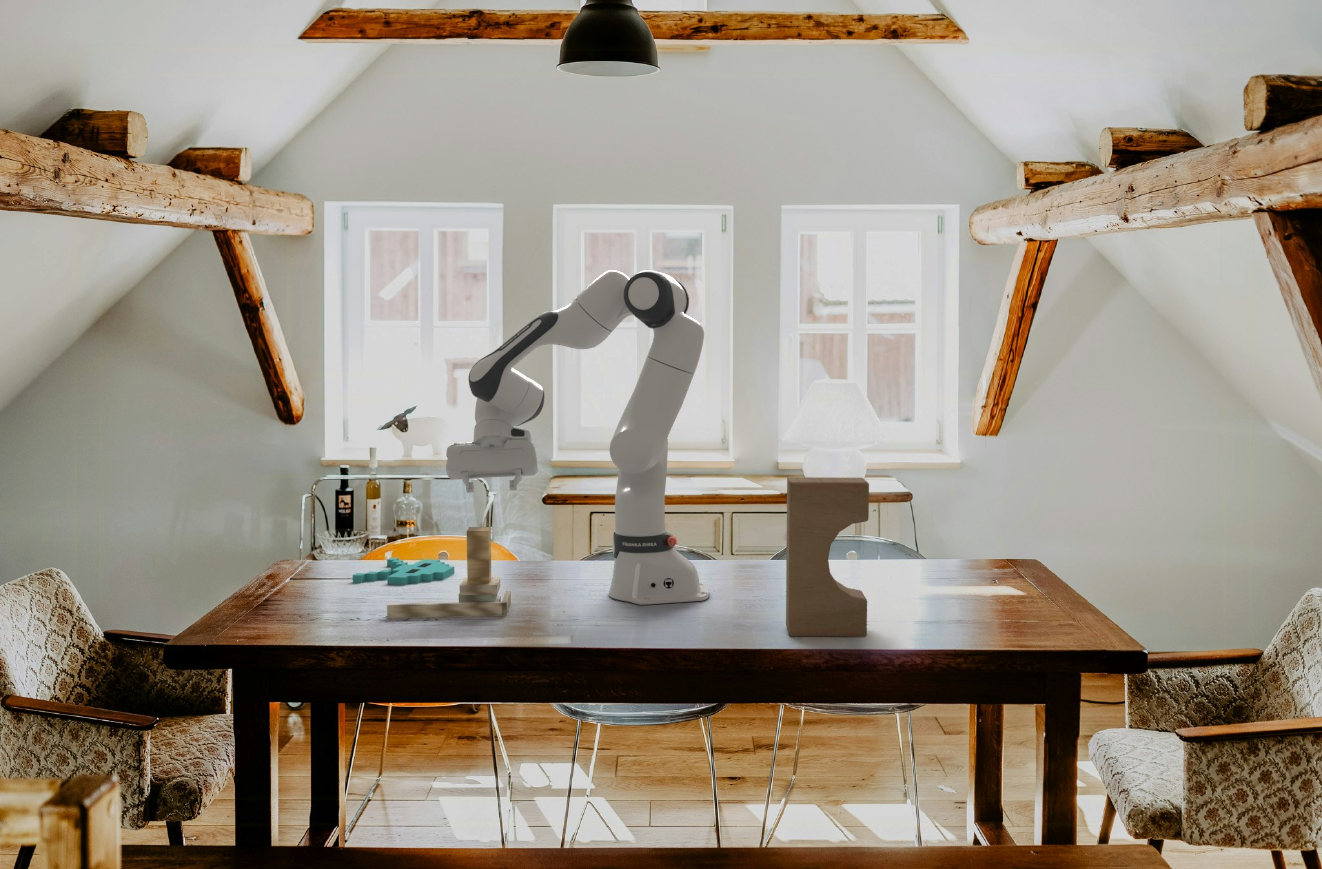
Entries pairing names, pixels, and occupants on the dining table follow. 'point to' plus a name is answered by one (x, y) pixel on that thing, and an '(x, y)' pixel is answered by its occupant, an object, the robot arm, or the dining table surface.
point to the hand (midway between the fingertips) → (491, 489)
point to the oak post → (479, 555)
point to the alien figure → (408, 572)
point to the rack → (450, 609)
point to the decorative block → (822, 556)
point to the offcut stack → (480, 591)
